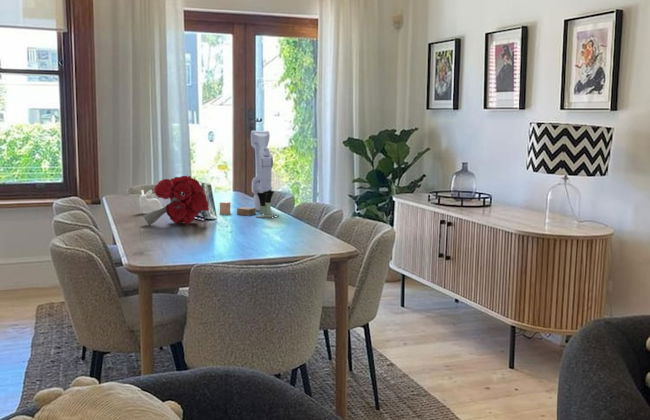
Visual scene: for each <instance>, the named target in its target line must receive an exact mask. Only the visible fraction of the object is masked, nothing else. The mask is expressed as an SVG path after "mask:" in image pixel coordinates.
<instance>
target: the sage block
mask: <svg viewBox="0 0 650 420" xmlns="http://www.w3.org/2000/svg"><path fill="white" fill-rule="evenodd" d="M271 204H272V203H271V202H270V203H266V204H265V206H261V204H260V211H259V215H261V214H270V215H271V210H272V208H271Z"/></svg>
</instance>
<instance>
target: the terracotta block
mask: <svg viewBox="0 0 650 420" xmlns="http://www.w3.org/2000/svg"><path fill="white" fill-rule="evenodd" d="M219 214H221V215H230V214H231V202H229V201H221V202H219Z"/></svg>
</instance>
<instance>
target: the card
mask: <svg viewBox="0 0 650 420" xmlns="http://www.w3.org/2000/svg"><path fill="white" fill-rule="evenodd" d="M277 215H278V214H271V213H270V214H264V215H261V214H259V215H256V216H255V218H256V217H258V218H257V219H265V218H271V219H273V218H272V217H275V216H277ZM278 216H279V217H280V215H278ZM275 218H276V217H275Z"/></svg>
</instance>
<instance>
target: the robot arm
mask: <svg viewBox="0 0 650 420" xmlns="http://www.w3.org/2000/svg"><path fill="white" fill-rule="evenodd" d="M269 143H270V132H269V130H251V132H250V145H251V147H252V148H254V152H255V154H254V155H255V172H256V173H255V175H256V176H255V177H253V178H252V179H251V193H252V194H254V195H253V201H254V202H253V208H256V211H257V212H260V204H261V206H265V204H266V203H271V202H272V199H273V196H274V194H275V191H274V190H273V187H272V172H273V171H272V168H273V166H274V159H273V158H274V157H273V156H272V155H271V152H270V148H268V145H269Z"/></svg>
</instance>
